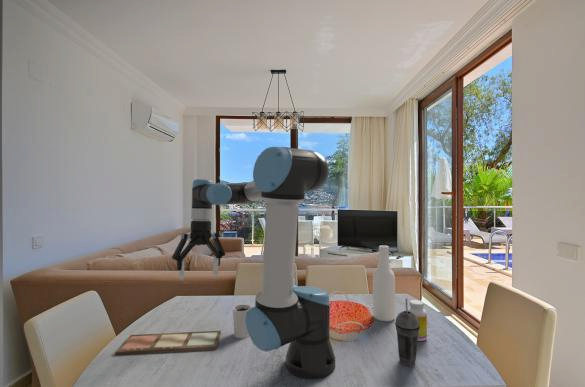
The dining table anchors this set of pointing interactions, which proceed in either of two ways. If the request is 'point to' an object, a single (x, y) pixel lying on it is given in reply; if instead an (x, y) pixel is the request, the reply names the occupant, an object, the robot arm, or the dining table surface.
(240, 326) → the white coffee cup
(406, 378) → the dining table surface
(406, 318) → the beverage cup
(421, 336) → the supplement bottle
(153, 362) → the dining table surface
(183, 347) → the tile board
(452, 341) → the dining table surface
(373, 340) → the dining table surface
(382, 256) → the white bottle
